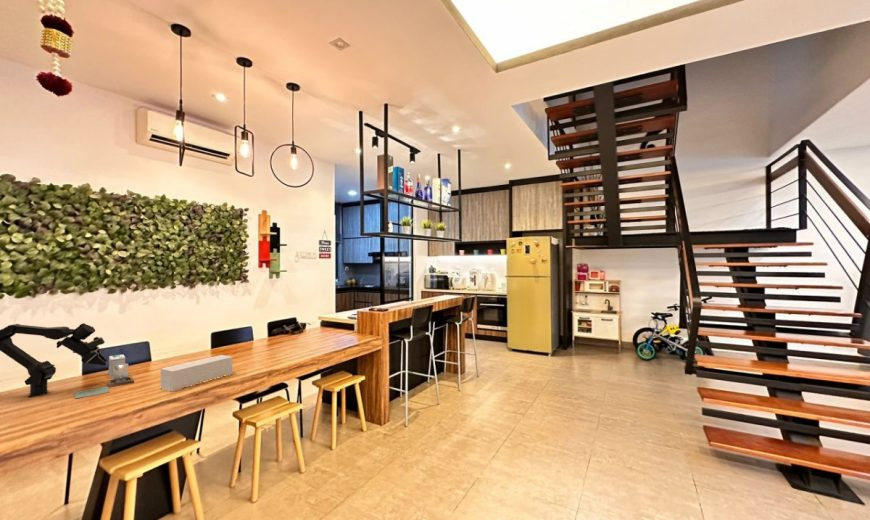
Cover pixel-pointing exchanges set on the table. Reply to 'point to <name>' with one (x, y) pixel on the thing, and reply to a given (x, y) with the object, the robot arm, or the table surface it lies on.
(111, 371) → the grey boxy fixture
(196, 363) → the long grey concrete block
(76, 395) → the mat
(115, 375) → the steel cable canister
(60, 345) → the robot arm
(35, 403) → the table surface
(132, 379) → the walnut collar
